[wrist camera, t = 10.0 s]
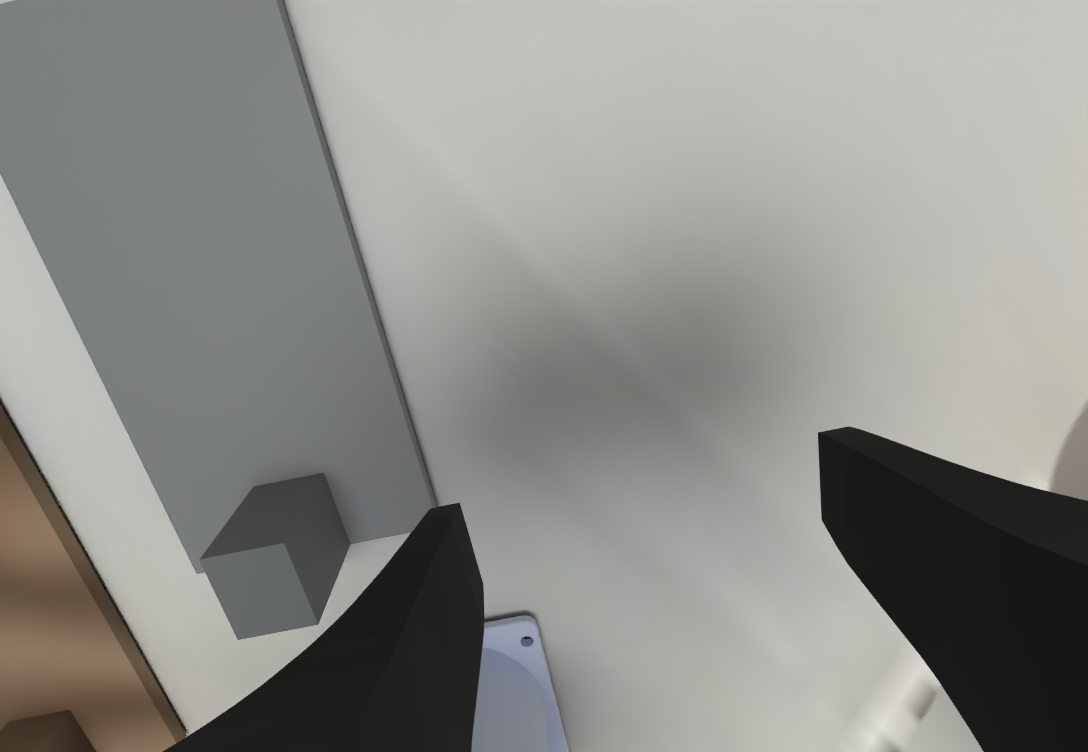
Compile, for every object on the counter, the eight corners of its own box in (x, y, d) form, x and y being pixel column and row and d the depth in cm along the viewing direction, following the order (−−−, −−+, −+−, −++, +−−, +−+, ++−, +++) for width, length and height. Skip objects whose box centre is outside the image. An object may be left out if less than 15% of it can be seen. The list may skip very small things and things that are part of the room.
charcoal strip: (440, 517, 23) (423, 604, 19) (204, 563, 23) (134, 659, 19) (267, -48, 17) (182, -112, 12) (-56, 24, 17) (-249, -14, 13)
